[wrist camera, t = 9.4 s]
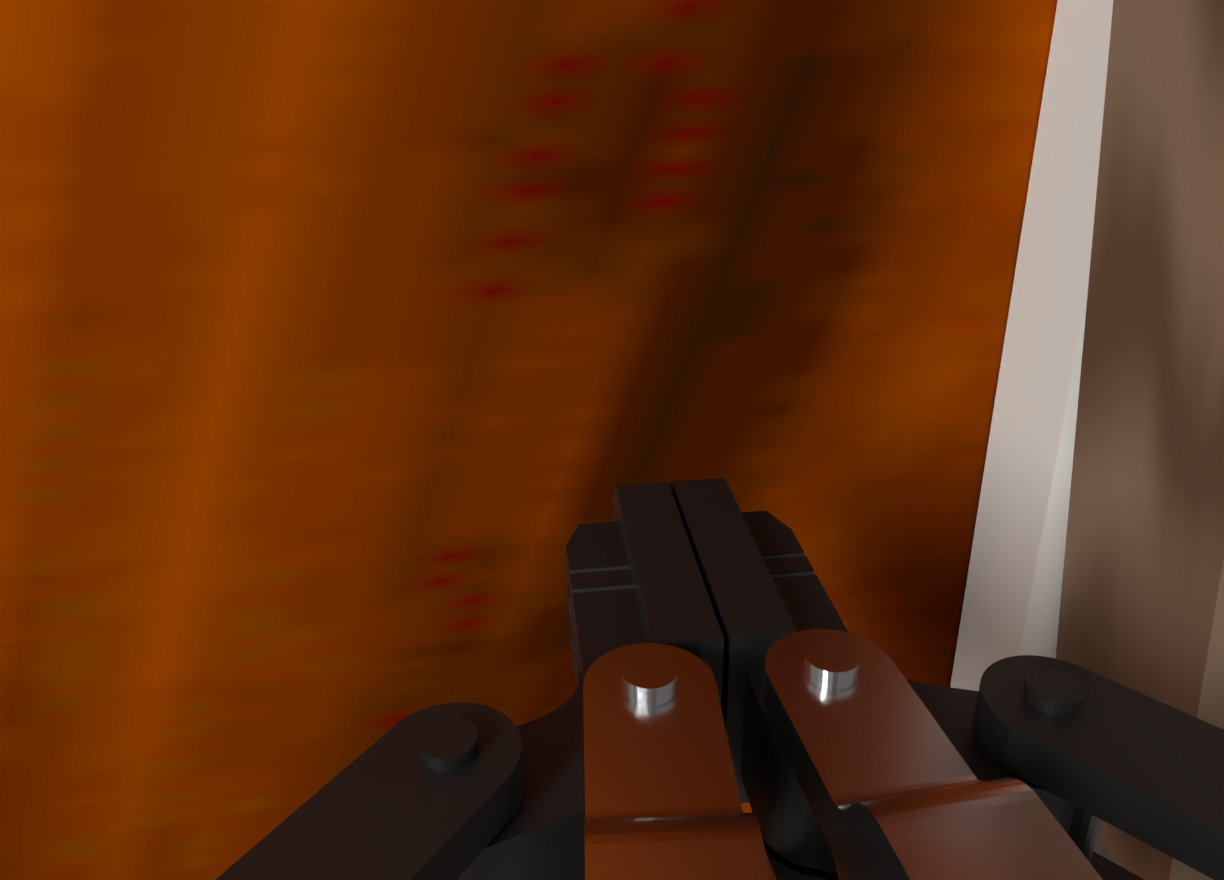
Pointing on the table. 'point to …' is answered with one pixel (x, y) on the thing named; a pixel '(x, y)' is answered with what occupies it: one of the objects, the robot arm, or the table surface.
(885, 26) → the table surface
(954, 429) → the table surface
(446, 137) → the table surface
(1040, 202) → the slatted block on base
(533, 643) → the table surface
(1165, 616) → the hinged leg
